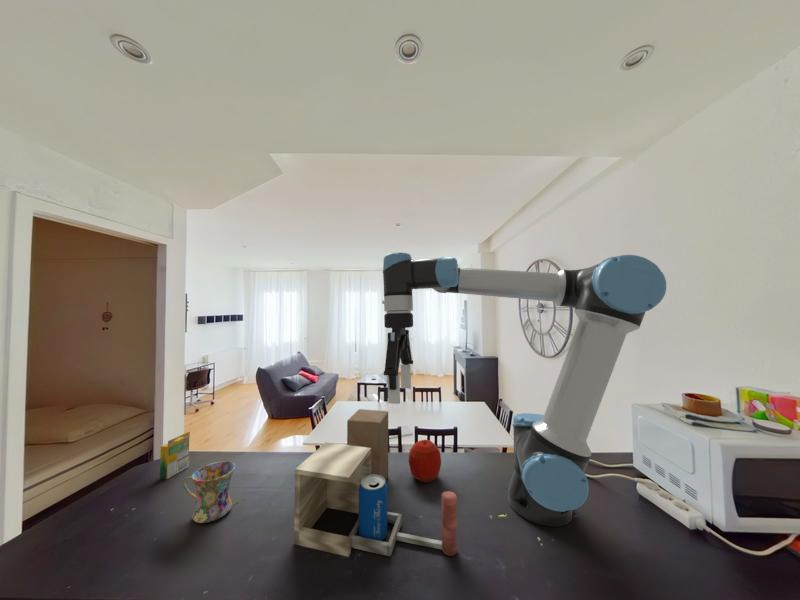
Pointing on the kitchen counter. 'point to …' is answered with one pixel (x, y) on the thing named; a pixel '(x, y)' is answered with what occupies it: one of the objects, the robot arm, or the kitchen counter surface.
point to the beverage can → (373, 507)
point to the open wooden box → (328, 493)
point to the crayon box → (174, 456)
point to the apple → (425, 460)
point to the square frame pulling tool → (386, 548)
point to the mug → (211, 491)
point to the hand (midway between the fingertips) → (400, 395)
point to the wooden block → (371, 437)
